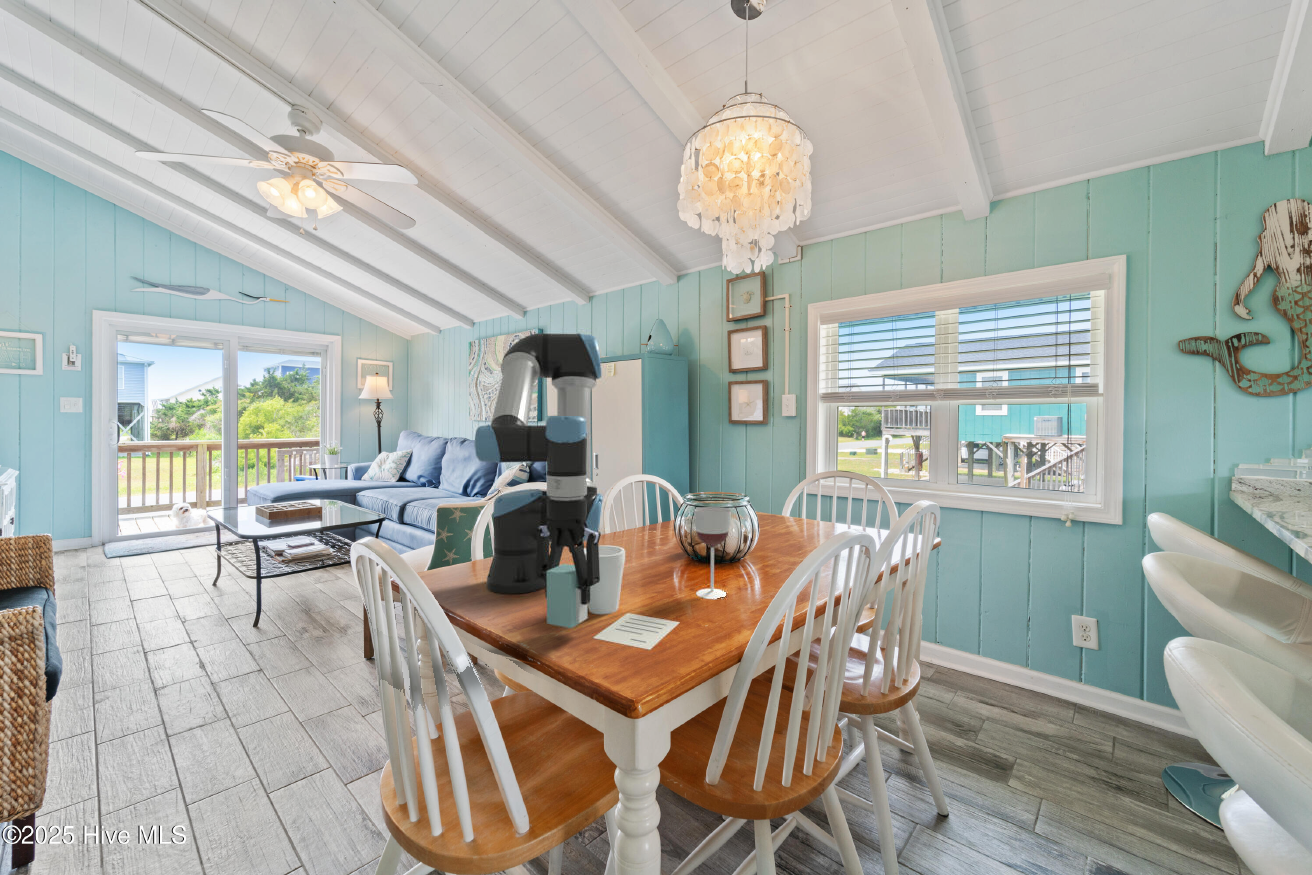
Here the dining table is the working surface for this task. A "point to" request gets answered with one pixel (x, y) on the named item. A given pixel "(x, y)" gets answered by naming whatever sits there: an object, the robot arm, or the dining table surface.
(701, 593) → the wineglass
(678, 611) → the dining table surface
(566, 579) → the block
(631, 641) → the letter
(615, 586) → the foam cup
